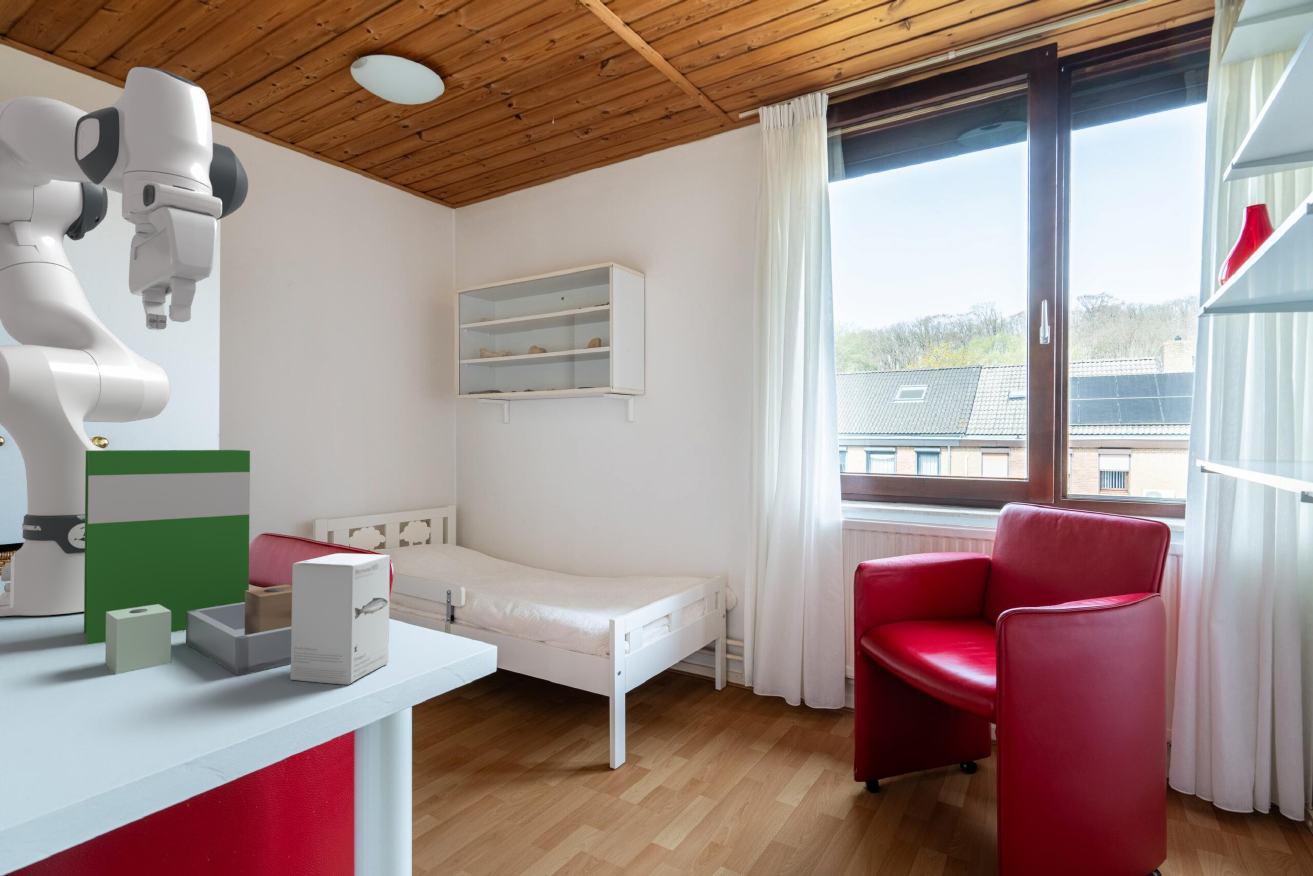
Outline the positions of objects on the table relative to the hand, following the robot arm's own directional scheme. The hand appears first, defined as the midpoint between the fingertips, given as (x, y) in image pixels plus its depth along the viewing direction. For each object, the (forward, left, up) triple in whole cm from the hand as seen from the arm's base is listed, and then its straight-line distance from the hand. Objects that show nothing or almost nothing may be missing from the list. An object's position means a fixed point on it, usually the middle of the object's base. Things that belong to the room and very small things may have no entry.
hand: (167, 325), depth 83 cm
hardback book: (-14, +4, -39) cm, 42 cm away
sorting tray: (+6, +10, -39) cm, 41 cm away
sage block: (+2, -3, -39) cm, 39 cm away
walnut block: (+6, +10, -38) cm, 40 cm away
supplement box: (+22, +11, -39) cm, 46 cm away
